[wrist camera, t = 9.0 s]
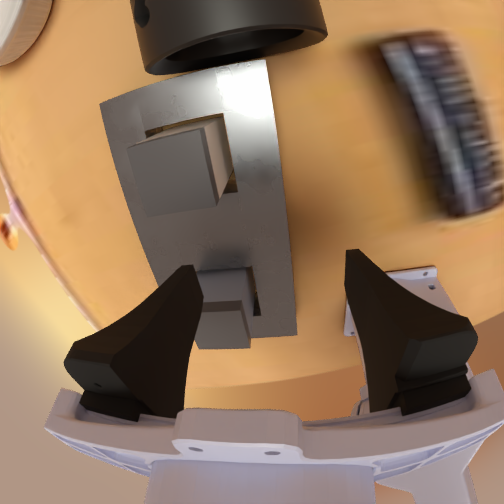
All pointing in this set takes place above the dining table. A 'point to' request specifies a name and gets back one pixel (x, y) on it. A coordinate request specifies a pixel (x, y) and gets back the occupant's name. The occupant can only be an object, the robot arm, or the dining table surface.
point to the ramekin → (20, 26)
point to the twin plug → (226, 308)
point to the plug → (182, 167)
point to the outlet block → (234, 195)
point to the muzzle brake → (222, 31)
